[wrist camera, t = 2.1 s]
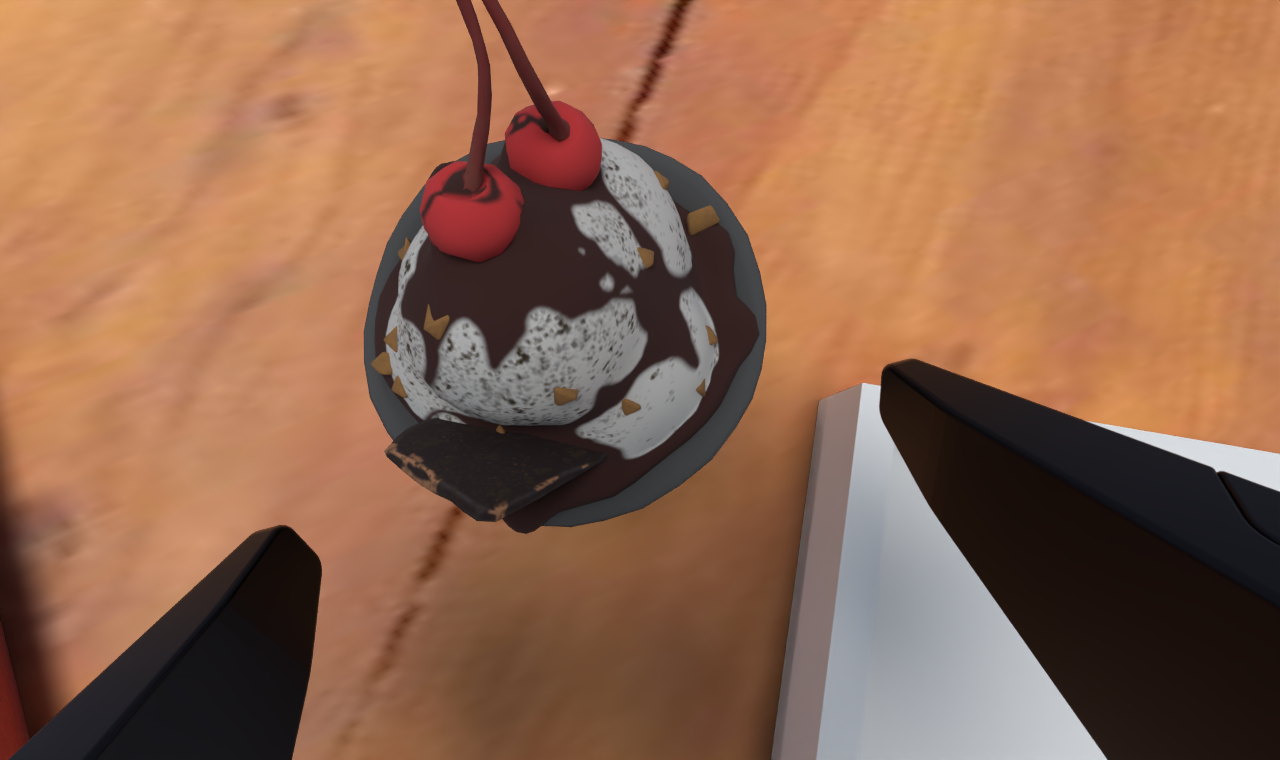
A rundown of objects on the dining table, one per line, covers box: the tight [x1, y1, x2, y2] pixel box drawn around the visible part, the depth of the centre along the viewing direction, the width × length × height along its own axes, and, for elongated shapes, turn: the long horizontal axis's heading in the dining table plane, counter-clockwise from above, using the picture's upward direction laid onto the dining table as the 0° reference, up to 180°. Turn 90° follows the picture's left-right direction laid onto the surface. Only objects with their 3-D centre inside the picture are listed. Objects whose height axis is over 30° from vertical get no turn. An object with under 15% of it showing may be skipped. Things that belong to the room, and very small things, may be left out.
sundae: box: [364, 0, 766, 534], centre depth 11 cm, size 7×7×15 cm
